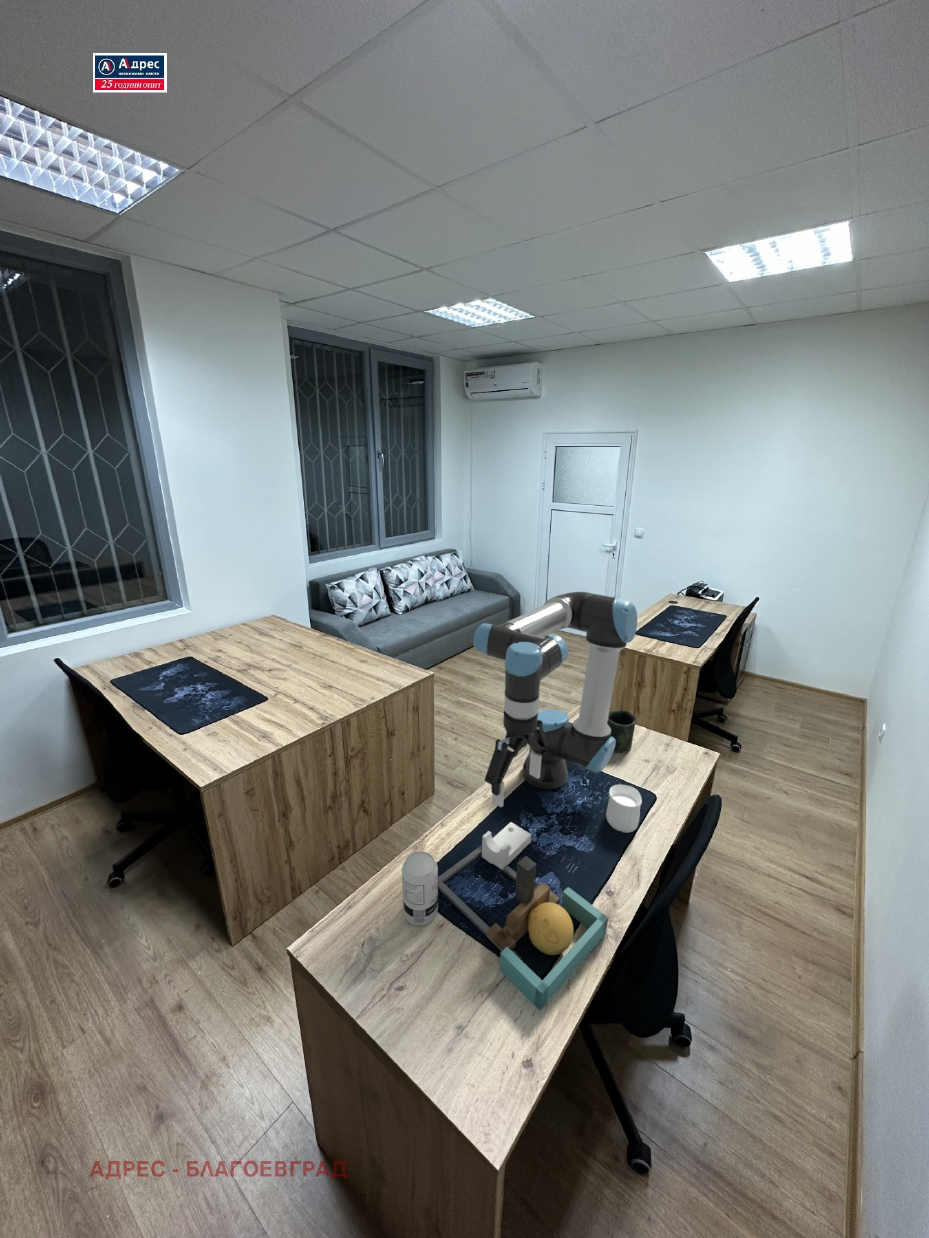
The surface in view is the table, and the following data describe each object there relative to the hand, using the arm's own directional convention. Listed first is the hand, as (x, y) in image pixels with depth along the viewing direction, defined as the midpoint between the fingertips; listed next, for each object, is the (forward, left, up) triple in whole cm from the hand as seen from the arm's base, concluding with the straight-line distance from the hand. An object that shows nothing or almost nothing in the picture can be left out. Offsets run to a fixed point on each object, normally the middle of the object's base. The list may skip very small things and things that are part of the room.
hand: (516, 789), depth 115 cm
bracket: (-7, -8, -30) cm, 31 cm away
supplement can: (+22, -9, -29) cm, 38 cm away
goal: (+6, +19, -29) cm, 35 cm away
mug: (-77, -14, -29) cm, 83 cm away
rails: (+6, +1, -29) cm, 30 cm away
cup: (-41, +8, -29) cm, 51 cm away
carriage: (+6, +10, -29) cm, 31 cm away
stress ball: (+6, +17, -29) cm, 34 cm away
